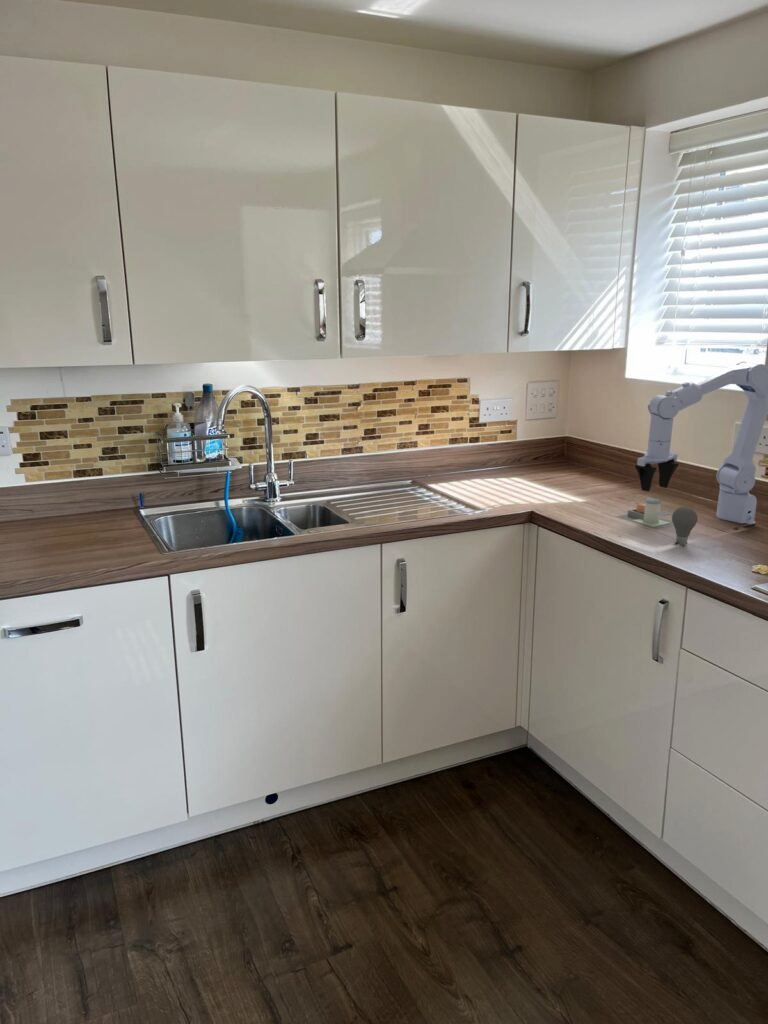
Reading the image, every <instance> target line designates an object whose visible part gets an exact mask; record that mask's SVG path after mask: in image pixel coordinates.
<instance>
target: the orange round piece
mask: <svg viewBox="0 0 768 1024" xmlns="http://www.w3.org/2000/svg"><path fill="white" fill-rule="evenodd" d="M635 509H636V512H638V513H642V514H644V510H645V503H644V502H638V503H636V508H635Z"/></svg>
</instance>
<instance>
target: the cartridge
mask: <svg viewBox="0 0 768 1024" xmlns="http://www.w3.org/2000/svg"><path fill="white" fill-rule="evenodd" d="M661 503H662V500H661V499H659V498H652V497H651V498H650V497H649V498H646V499H645V510H644V520H643V521H644V522H646V523H653V524H655V523H659V515H660V510H661V506H662V505H661Z"/></svg>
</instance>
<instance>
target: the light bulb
mask: <svg viewBox="0 0 768 1024" xmlns="http://www.w3.org/2000/svg"><path fill="white" fill-rule="evenodd" d="M671 521H672V522H673V524H674V525H673V526H674V528H675V535H676V542H675V543H676V544H677V545H679V546H685V545H687V544H688V538H689V536H690V534H691V531H692V530H693V529H694V528H695V526H696V525H697V522H698V514H697V513H696V511H695V510H694V509H693V508H692V507H689V506H680V507H678V508H677V509H675V510H674V512H673V515H671Z"/></svg>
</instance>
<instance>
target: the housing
mask: <svg viewBox="0 0 768 1024" xmlns="http://www.w3.org/2000/svg"><path fill="white" fill-rule="evenodd" d="M673 513H674V512H673ZM673 513H672V512H669V511H664V510H661V509H660V515H659V523H655V524H653V523H646V522H644V521H643V520H644V514H642V513H638V512H636V508H634V509H633V508H631V509H628V510H627V513H626V514H621V515H617V516H615V517H616V518H619V519H621V520H625V521H628V522H633V523H635V524H638V525H641V526H644V527H645V526H646V527H648V528H653V529H655V530H658V529H663V528H667V527H673V526H674V524H673V522H672V519H671V520H670V519H668V518H667V519H666V518H664V517H665V516H668V515H669V516H670V515H671V516H672V515H673Z"/></svg>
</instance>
